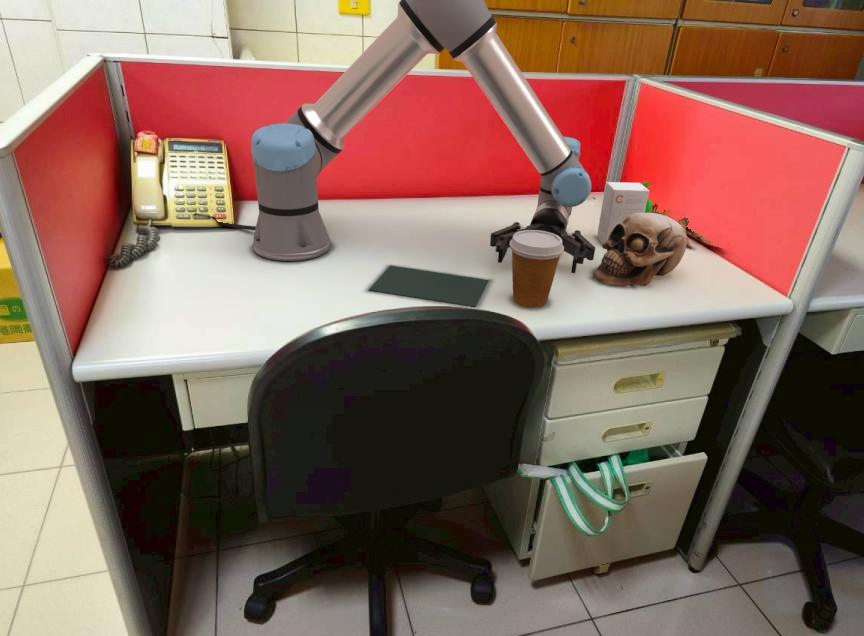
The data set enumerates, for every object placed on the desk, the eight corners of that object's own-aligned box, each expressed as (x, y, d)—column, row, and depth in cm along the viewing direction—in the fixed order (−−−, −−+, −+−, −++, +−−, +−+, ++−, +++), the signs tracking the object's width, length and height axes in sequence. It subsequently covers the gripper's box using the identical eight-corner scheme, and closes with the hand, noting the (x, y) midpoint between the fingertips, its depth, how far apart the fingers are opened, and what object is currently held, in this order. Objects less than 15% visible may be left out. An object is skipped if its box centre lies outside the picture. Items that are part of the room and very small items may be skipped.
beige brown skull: (588, 279, 124) (604, 213, 118) (606, 260, 139) (621, 199, 133) (667, 300, 119) (688, 232, 114) (677, 277, 134) (696, 216, 128)
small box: (629, 237, 148) (640, 182, 141) (638, 247, 142) (650, 190, 135) (595, 236, 147) (605, 181, 140) (603, 246, 141) (614, 189, 135)
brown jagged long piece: (656, 230, 154) (700, 256, 140) (660, 211, 152) (705, 236, 137) (689, 227, 157) (735, 252, 142) (693, 209, 154) (741, 232, 140)
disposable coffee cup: (553, 315, 110) (563, 251, 104) (500, 308, 112) (506, 244, 105) (557, 293, 118) (566, 232, 112) (507, 286, 120) (514, 226, 113)
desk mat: (368, 290, 115) (368, 289, 115) (390, 266, 125) (390, 265, 125) (475, 307, 112) (475, 306, 111) (488, 280, 122) (488, 279, 121)
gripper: (605, 249, 132) (602, 289, 114) (489, 233, 136) (469, 270, 118) (612, 214, 128) (609, 251, 110) (492, 199, 132) (471, 232, 114)
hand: (536, 261), depth 114 cm, fingers open, 13 cm apart
